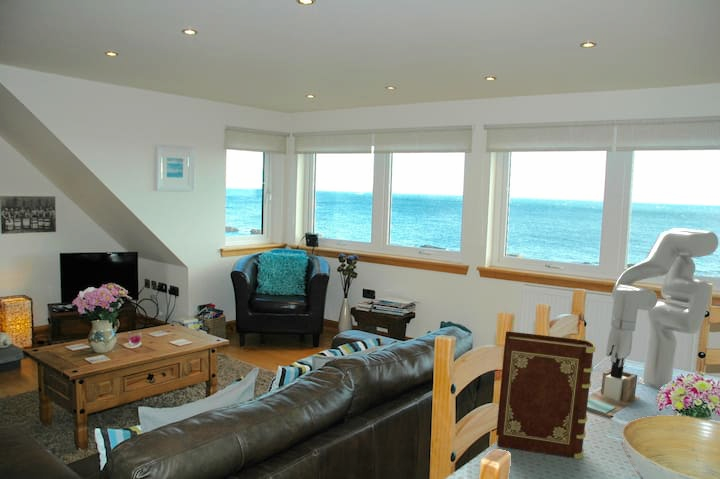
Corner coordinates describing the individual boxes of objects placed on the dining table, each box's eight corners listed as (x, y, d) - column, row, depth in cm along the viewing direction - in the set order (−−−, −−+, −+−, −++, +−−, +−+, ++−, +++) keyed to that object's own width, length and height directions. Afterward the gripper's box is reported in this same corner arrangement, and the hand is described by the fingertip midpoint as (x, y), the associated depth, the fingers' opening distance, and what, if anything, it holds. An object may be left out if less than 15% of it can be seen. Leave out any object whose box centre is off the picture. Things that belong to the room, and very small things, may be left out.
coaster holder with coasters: (604, 389, 198) (607, 366, 197) (640, 400, 189) (642, 376, 188) (573, 405, 180) (575, 380, 180) (610, 418, 172) (613, 392, 171)
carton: (610, 392, 193) (612, 372, 192) (625, 396, 189) (627, 377, 188) (603, 396, 188) (605, 376, 188) (618, 400, 185) (620, 380, 184)
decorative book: (579, 446, 151) (591, 340, 148) (585, 460, 143) (598, 348, 140) (496, 434, 155) (505, 330, 152) (497, 447, 148) (507, 338, 144)
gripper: (620, 319, 194) (613, 370, 196) (602, 324, 184) (595, 377, 185) (642, 324, 189) (635, 376, 190) (625, 329, 178) (618, 384, 180)
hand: (616, 376), depth 188 cm, fingers closed
